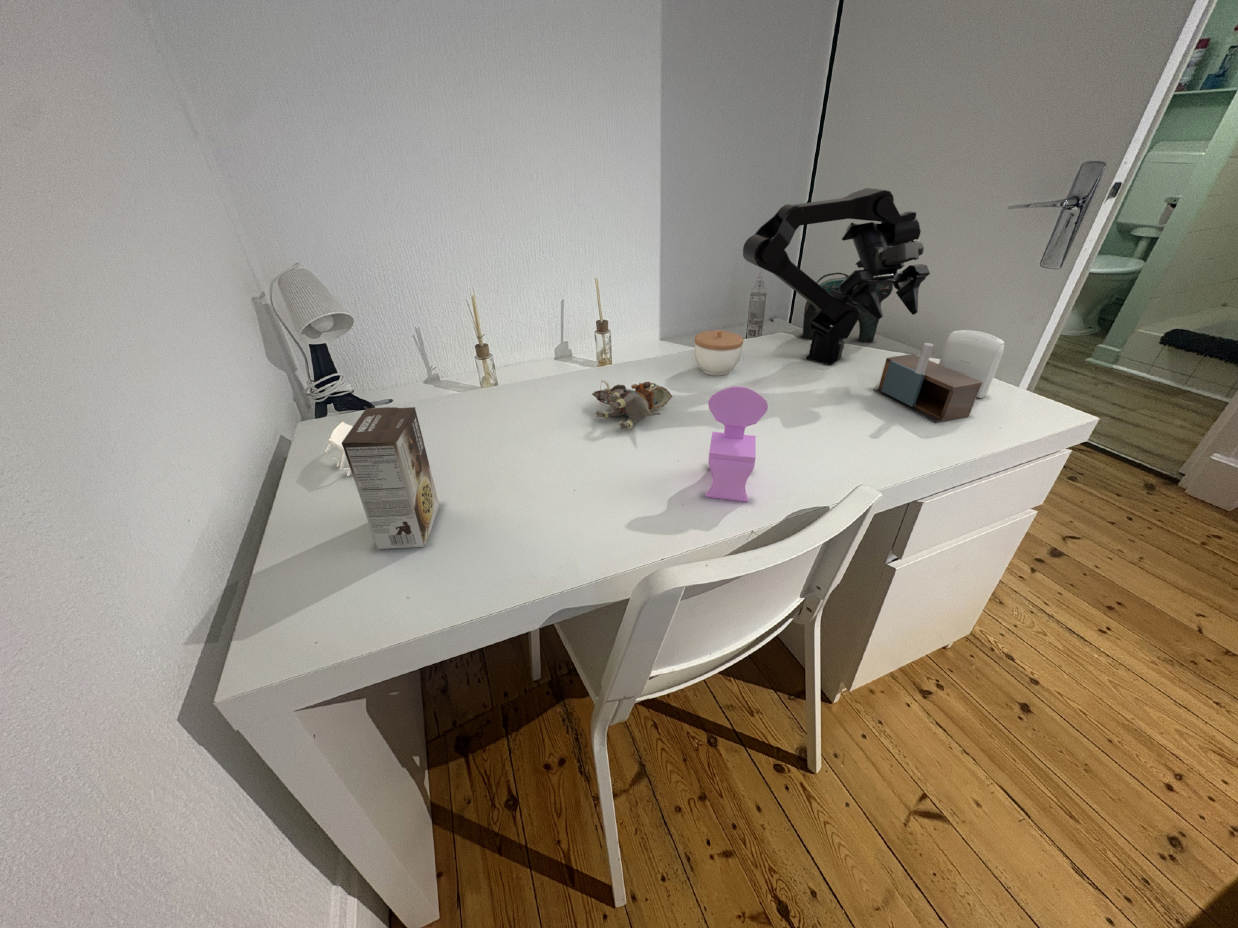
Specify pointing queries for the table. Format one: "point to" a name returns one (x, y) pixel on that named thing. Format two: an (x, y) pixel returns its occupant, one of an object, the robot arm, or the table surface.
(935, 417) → the cabinet
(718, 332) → the trinket box
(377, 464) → the brown food box
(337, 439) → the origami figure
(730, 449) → the toy chair
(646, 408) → the figurine
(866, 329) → the dark green sculpted piece
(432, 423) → the table surface
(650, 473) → the table surface
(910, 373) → the sliding door
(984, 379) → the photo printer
